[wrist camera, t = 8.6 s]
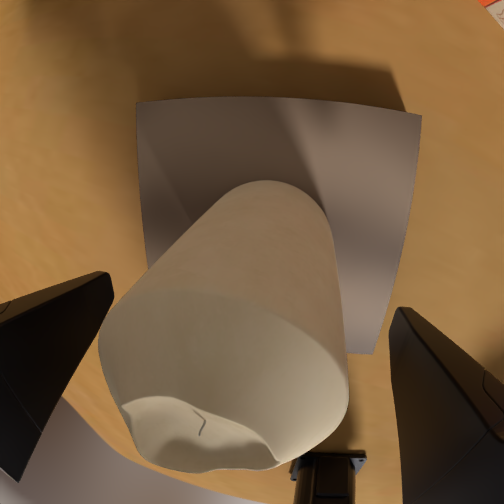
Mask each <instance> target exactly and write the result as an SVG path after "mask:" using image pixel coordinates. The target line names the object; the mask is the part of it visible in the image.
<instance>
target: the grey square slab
mask: <svg viewBox="0 0 504 504" xmlns="http://www.w3.org/2000/svg"><path fill="white" fill-rule="evenodd" d="M421 121H422V115H417V114H412V113H407V112H402V111H397V110H391V109H386V108H380V107H373V106H367V105H360V104H352V103H344V102H335V101H325V100H314V99H301V98H283V97H199V98H182V99H169V100H158V101H148V102H139V103H136V128H137V155H138V173H139V187H140V200H141V211H142V221H143V231H144V239H145V248H146V256H147V263H148V270H149V269H150V268H151V266H152V265H153V264H154V263H155V262H156V261H157V260H158V259H159V258H160V257H161V256H162V255H163V254H164V253H165V252H166V251H167V250H168V249H169V248H170V247H171V246H172V245H173V244H174V243H175V242H176V241H177V240H178V239H179V238H180V237H181V236H182V235H183V234H184V233H185V232H186V231H187V230H188V229H189V228H190V227H191V226H192V225H193V224H194V223H195V222H196V221H197V220H198V219H199V218H200V217H201V216H202V215H203V214H204V213H205V212H207V211H208V210H209V209H210V208H211V207H212V206H213V205H214V204H215V203H216V202H217V201H218V200H219V199H220V198H222V197H223V196H224V195H225V194H226V193H228V192H229V191H231V190H232V189H234V188H236V187H238V186H240V185H243V184H246V183H249V182H254V181H260V180H272V181H279V182H284V183H287V184H290V185H292V186H295V187H297V188H298V189H300V190H302V191H303V192H305V193H306V194H308V195H309V196H310V197H311V198H312V199H313V200H314V201H315V202H316V203H317V204H318V205H319V207H320V208H321V209H322V211H323V212H324V214H325V216H326V218H327V220H328V222H329V225H330V229H331V232H332V237H333V242H334V249H335V256H336V263H337V270H338V278H339V286H340V294H341V302H342V311H343V321H344V331H345V342H346V353H356V354H373V351H374V348H375V345H376V342H377V339H378V336H379V333H380V330H381V327H382V324H383V320H384V317H385V314H386V310H387V307H388V304H389V300H390V297H391V293H392V289H393V286H394V282H395V278H396V274H397V270H398V266H399V262H400V257H401V253H402V249H403V244H404V239H405V235H406V230H407V225H408V220H409V214H410V209H411V203H412V197H413V191H414V184H415V177H416V170H417V162H418V153H419V144H420V133H421Z"/></svg>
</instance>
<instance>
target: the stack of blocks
mask: <svg viewBox="0 0 504 504" xmlns="http://www.w3.org/2000/svg"><path fill="white" fill-rule="evenodd" d="M478 1H479V2H480V3H481V4H482V5H483V6H484V7H485V8H486V9H487V11H488V12H489V13H490V14H491V15H492V16H493V18H494V19H495V20H496V21H497V22H498V23H499V25H500V26H501V27H502V28H503V29H504V0H478Z"/></svg>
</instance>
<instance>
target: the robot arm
mask: <svg viewBox="0 0 504 504" xmlns="http://www.w3.org/2000/svg"><path fill="white" fill-rule="evenodd" d="M113 300H114V291H113V286H112V281H111V277H110V275H109V273H107V272H102V271H96V272H93V273H90V274H87V275H84V276H81V277H78V278H75V279H72V280H69V281H66V282H63V283H60V284H57V285H54V286H51V287H48V288H45V289H42V290H39V291H37V292H34V293H31V294H28V295H25V296H22V297H19V298H16V299H14V300H12V301H8V302H5V303H2V304H0V469H1V470H2V471H3V472H5V473H6V474H7V475H8V476H10V477H11V478H12V479H13V480H15V481H16V482H17V483H19V481H20V480H21V478H22V475H23V473H24V471H25V468H26V466H27V464H28V462H29V460H30V458H31V455H32V453H33V451H34V449H35V447H36V445H37V443H38V441H39V438H40V436H41V434H42V432H43V430H44V428H45V426H46V424H47V422H48V420H49V418H50V416H51V414H52V412H53V410H54V409H55V407H56V405H57V403H58V401H59V399H60V397H61V396H62V394H63V392H64V390H65V388H66V386H67V385H68V383H69V381H70V379H71V378H72V376H73V374H74V372H75V370H76V369H77V367H78V365H79V364H80V362H81V360H82V358H83V357H84V355H85V353H86V352H87V350H88V348H89V347H90V345H91V343H92V342H93V340H94V338H95V337H96V335H97V333H98V331H99V329H100V327H101V325H102V323H103V321H104V319H105V317H106V315H107V313H108V311H109V309H110V307H111V305H112V303H113ZM389 349H390V368H391V383H392V390H393V397H394V404H395V411H396V419H397V428H398V437H399V448H400V460H401V474H402V495H403V504H504V385H503V384H502V383H501V382H500V381H499V380H498V379H496V378H495V377H494V376H493V375H492V374H491V373H489V372H488V371H487V370H484V367H482V366H481V365H480V364H479V363H478V362H477V361H475V360H474V359H473V358H472V357H471V356H470V355H468V354H467V353H466V352H465V351H464V350H462V349H461V348H460V347H459V346H458V345H456V344H455V343H454V342H453V341H452V340H450V339H449V338H448V337H447V336H446V335H444V334H443V333H442V332H441V331H439V330H438V329H437V328H436V327H435V326H433V325H432V324H431V323H430V322H428V321H427V320H426V319H425V318H423V317H422V316H421V315H420V314H418V313H417V312H416V311H414V310H413V309H412V308H410V307H398V308H397V309H396V311H395V314H394V317H393V320H392V323H391V326H390V330H389ZM366 460H367V456H366V455H342V454H318V453H304V454H302V455H301V456H299V457H297V459H296V462H295V465H294V468H293V471H292V474H291V478H290V480H292V481H296V488H295V495H294V502H293V504H355V476H356V474H357V473H358V472H359V470H360V469H361V467H362V466H363V465H364V463H365V462H366Z"/></svg>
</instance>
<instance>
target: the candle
mask: <svg viewBox="0 0 504 504" xmlns="http://www.w3.org/2000/svg"><path fill="white" fill-rule="evenodd" d="M98 350H99V356H100V361H101V366H102V369H103V373H104V376H105V379H106V382H107V384H108V387H109V390H110V392H111V395H112V397H113V399H114V401H115V403H116V405H117V407H118V409H119V411H120V413H121V414H122V417H123V419H124V421H125V423H126V425H127V427H128V429H129V431H130V433H131V436H132V438H133V441H134V443H135V446H136V448H137V450H138V452H139V453H140V455H141V456H142V457H143V458H144V459H145V460H147V461H148V462H150V463H152V464H155V465H158V466H161V467H164V468H168V469H171V470H176V471H180V472H186V473H204V472H209V471H213V470H224V469H225V470H252V471H263V470H269V469H272V468H275V467H277V466H279V465H281V464H283V463H286V462H288V461H290V460H293V459H295V458H297V457H299V456H301V455H302V454H304V453H306V452H307V451H309V450H310V449H312V448H313V447H315V446H316V445H318V444H319V443H320V442H322V441H323V440H324V439H326V438H327V437H328V436H329V435H330V434H331V433H332V432H333V431H334V430H335V429H336V428H337V427H338V425H339V424H340V423H341V421H342V420H343V418H344V415H345V413H346V411H347V407H348V402H349V382H348V366H347V353H346V342H345V331H344V321H343V311H342V302H341V294H340V286H339V278H338V270H337V263H336V256H335V249H334V242H333V237H332V232H331V229H330V225H329V222H328V220H327V218H326V216H325V214H324V212H323V211H322V209H321V208H320V207H319V205H318V204H317V203H316V202H315V201H314V200H313V199H312V198H311V197H310V196H309V195H308V194H306V193H305V192H303V191H302V190H300V189H298V188H297V187H295V186H292V185H290V184H287V183H284V182H279V181H272V180H260V181H254V182H249V183H246V184H243V185H240V186H238V187H236V188H234V189H232V190H231V191H229V192H228V193H226V194H225V195H224V196H223V197H222V198H220V199H219V200H218V201H217V202H216V203H215V204H214V205H213V206H212V207H211V208H210V209H209V210H208V211H207V212H205V213H204V214H203V215H202V216H201V217H200V218H199V219H198V220H197V221H196V222H195V223H194V224H193V225H192V226H191V227H190V228H189V229H188V230H187V231H186V232H185V233H184V234H183V235H182V236H181V237H180V238H179V239H178V240H177V241H176V242H175V243H174V244H173V245H172V246H171V247H170V248H169V249H168V250H167V251H166V252H165V253H164V254H163V255H162V256H161V257H160V258H159V259H158V260H157V261H156V262H155V263H154V264H153V265H152V266H151V268H150V269H149V270H148V271H147V272H146V273H145V274H144V275H143V276H142V277H141V278H140V279H139V280H138V281H137V282H136V283H135V284H134V285H133V286H132V288H131V289H130V290H129V291H128V292H127V293H126V294H125V295H124V296H123V297H122V298H121V299H120V300H119V302H118V303H117V304H116V305H115V306H114V307H113V308H112V309H111V310H110V312H109V313H108V314H107V316H106V318H105V319H104V321H103V323H102V326H101V329H100V331H99V339H98Z"/></svg>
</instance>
